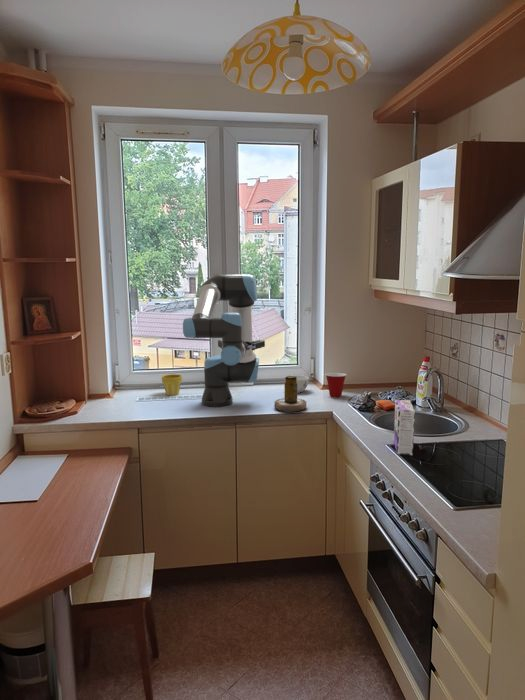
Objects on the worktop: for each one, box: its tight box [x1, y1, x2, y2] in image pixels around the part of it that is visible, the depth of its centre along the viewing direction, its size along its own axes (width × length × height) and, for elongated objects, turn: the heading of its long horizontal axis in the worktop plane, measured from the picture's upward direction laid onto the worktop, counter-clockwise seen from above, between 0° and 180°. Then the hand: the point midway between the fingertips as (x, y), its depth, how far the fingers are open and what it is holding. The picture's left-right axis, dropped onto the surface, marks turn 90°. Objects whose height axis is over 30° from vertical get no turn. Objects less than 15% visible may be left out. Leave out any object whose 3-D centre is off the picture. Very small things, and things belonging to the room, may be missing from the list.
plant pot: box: [161, 373, 183, 396], centre depth 259 cm, size 10×10×10 cm
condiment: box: [281, 375, 302, 405], centre depth 230 cm, size 7×8×12 cm
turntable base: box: [277, 409, 304, 413], centre depth 232 cm, size 12×12×1 cm
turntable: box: [274, 397, 307, 412], centre depth 231 cm, size 15×15×2 cm
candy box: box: [393, 399, 416, 456], centre depth 179 cm, size 14×6×16 cm, turn 169°
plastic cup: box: [325, 372, 347, 398], centre depth 251 cm, size 11×11×12 cm
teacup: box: [283, 374, 310, 394], centre depth 263 cm, size 15×12×8 cm
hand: (243, 340), depth 218 cm, fingers open, 13 cm apart
